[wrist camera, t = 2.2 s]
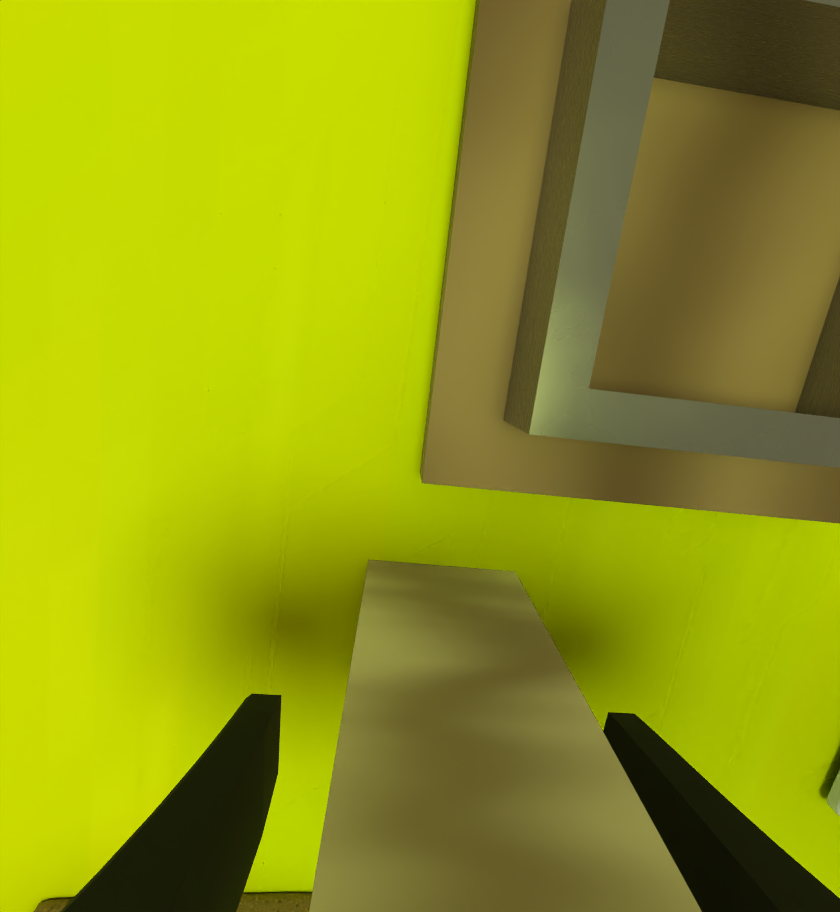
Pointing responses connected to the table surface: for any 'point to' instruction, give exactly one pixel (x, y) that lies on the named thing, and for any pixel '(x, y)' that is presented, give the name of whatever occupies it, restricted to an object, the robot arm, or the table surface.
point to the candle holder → (252, 908)
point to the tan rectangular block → (477, 765)
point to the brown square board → (639, 280)
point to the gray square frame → (604, 206)
